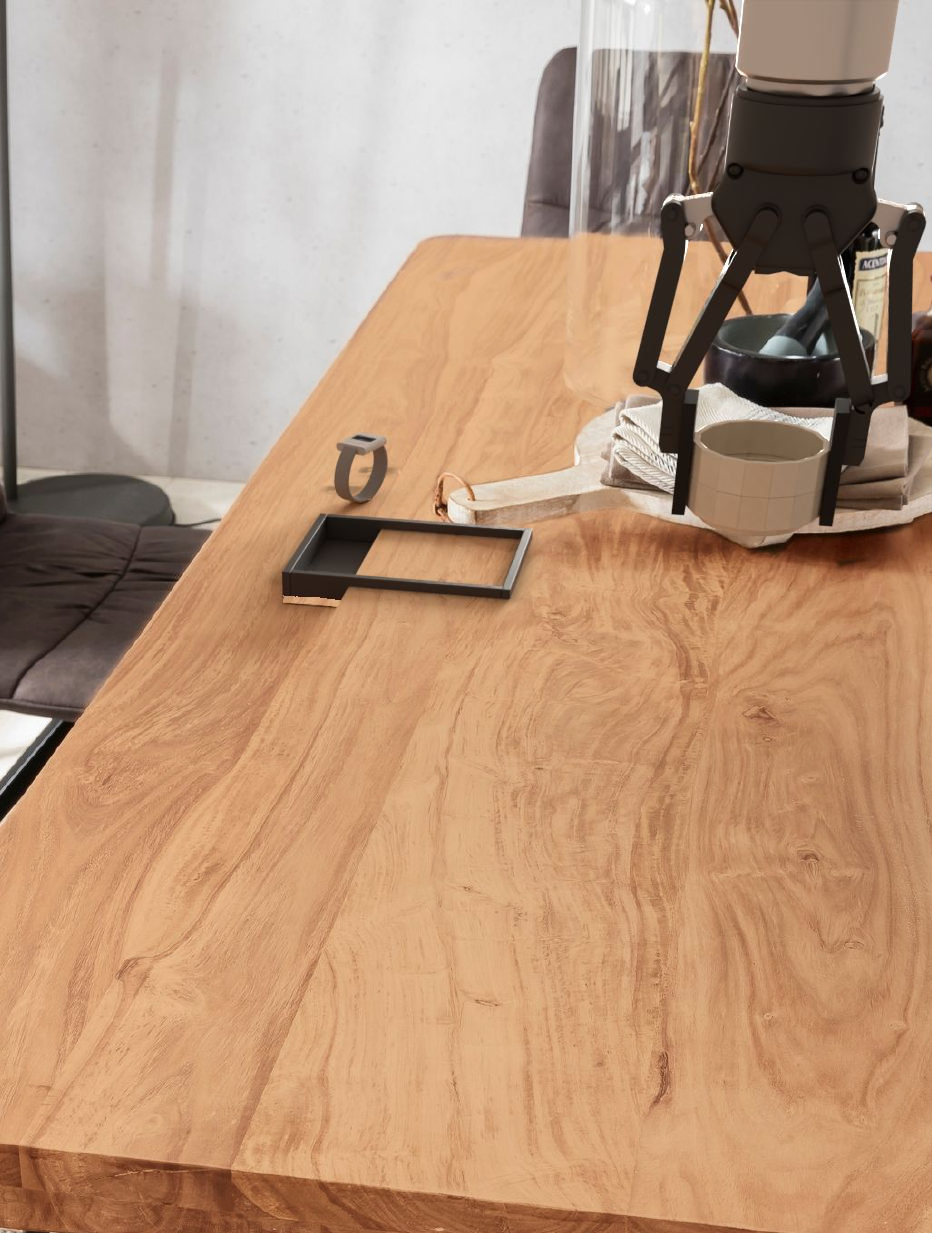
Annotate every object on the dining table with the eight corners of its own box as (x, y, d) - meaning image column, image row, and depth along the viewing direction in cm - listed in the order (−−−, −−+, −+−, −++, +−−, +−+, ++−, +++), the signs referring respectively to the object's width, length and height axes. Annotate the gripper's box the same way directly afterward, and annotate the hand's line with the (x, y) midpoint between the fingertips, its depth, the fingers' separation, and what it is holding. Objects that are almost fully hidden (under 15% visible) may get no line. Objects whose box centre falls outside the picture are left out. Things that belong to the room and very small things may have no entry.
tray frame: (531, 559, 129) (533, 528, 128) (508, 622, 119) (510, 590, 118) (320, 543, 132) (320, 513, 131) (282, 603, 123) (281, 571, 121)
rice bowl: (818, 498, 103) (830, 424, 100) (818, 546, 97) (830, 468, 94) (689, 489, 104) (697, 415, 102) (681, 535, 98) (689, 458, 96)
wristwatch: (355, 515, 137) (355, 453, 134) (326, 508, 138) (325, 447, 135) (396, 492, 141) (396, 431, 138) (367, 485, 142) (367, 426, 140)
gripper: (1014, 76, 89) (931, 502, 101) (613, 66, 93) (582, 477, 105) (1028, 100, 83) (939, 550, 95) (599, 88, 87) (568, 522, 99)
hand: (751, 511), depth 100 cm, fingers closed on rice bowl, 8 cm apart
